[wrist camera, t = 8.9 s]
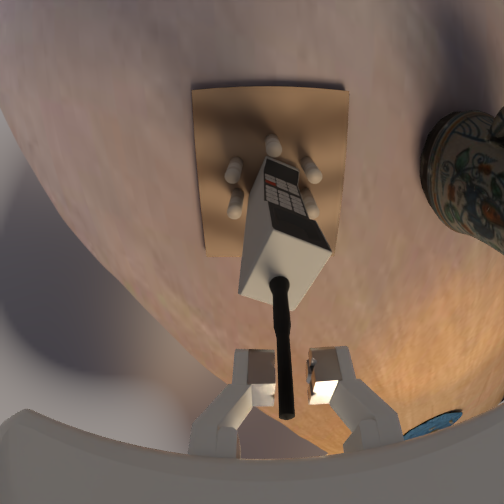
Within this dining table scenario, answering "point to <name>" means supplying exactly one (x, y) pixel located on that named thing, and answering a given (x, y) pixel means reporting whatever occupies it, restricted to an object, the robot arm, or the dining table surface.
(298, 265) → the vintage mobile phone
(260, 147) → the pin dock
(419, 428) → the decorative plate
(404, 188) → the dining table surface
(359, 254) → the dining table surface
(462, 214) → the beer stein
